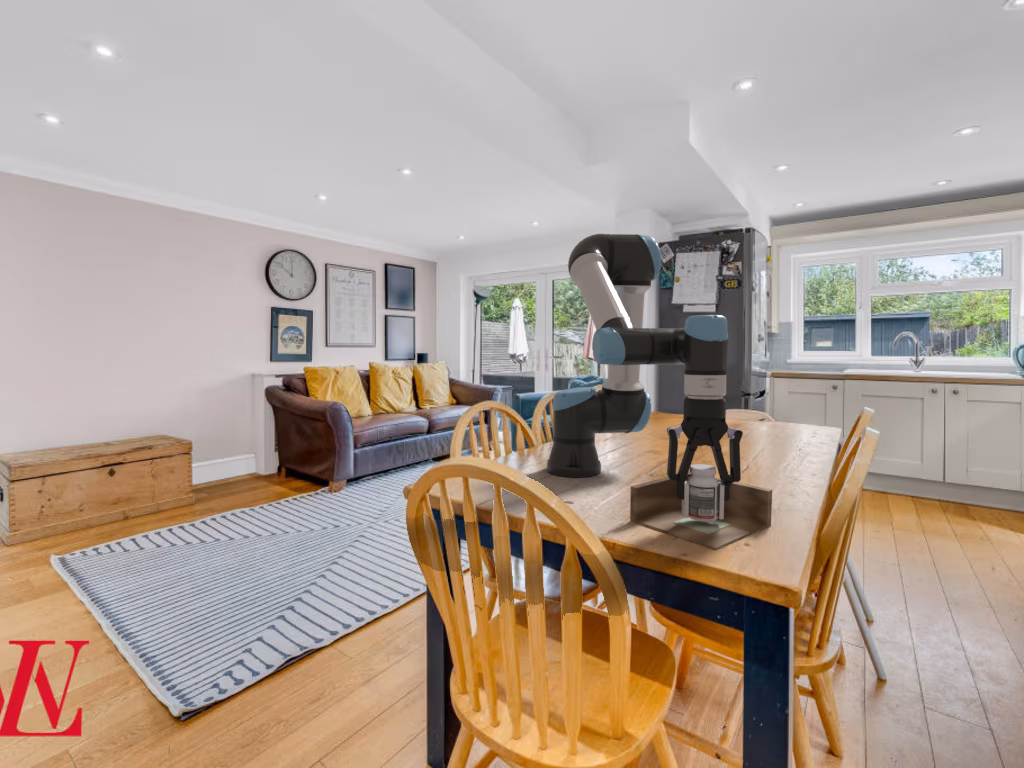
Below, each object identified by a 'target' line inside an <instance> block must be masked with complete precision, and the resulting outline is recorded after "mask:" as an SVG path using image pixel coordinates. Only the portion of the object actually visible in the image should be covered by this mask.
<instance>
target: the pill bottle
mask: <svg viewBox="0 0 1024 768" xmlns="http://www.w3.org/2000/svg"><path fill="white" fill-rule="evenodd" d="M689 472H690V473H691V476H690V477H689V478H688V480H687V483H688V484H689V517H690V518H691V519H694V520H697V521H703V522H710V521H715V520H716V519H717V518H718V500H719V482H718V480H717V479H716V478H717V477H716V474H717V467H715V466H713V465H709V464H701V463H695V464H691V466H690V469H689Z"/></svg>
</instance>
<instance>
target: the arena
mask: <svg viewBox="0 0 1024 768" xmlns="http://www.w3.org/2000/svg"><path fill="white" fill-rule="evenodd" d="M690 476H691V473H690V471H689V472H688V474H687V477H686V480H685V481H687V480H688V478H689V477H690ZM715 478H716V479H717V480H718V482H721V479H720V477H715ZM629 506H630V509H629V510H630V511H629V512H630V514H629V518H630V519H629V521H630V522H633V523H636V524H639V525H641V526H645V527H648V528H650V529H653V530H656V531H659V532H662V533H666V534H667V535H671V536H674V537H677V538H680V539H683V540H685V541H689V542H692V543H695V544H696V545H697V544H698V545H701V546H703V547H706V548H709V549H712V550H719V549H721V548H724V547H726V546H727V545H731V544H734V543H735V542H737V541H739V540H741V539H744V538H746V537H749V536H750V535H752V534H755V533H757V532H759V531H761V530H763V529H764V530H765V529H766V528H768V527H771V526H772V509H773V489H770V488H765V487H760V486H756V485H750V484H747V483H743V482H733V483H732V484H731V486H730V495H729V501H724V519H719V518H717V519H716V520H715V521H710V522H703V521H697V520H694V519H691V518H690V517H688V518H684V516H683V515H682V500H681V499H678V497H677V482H676V481H674V480H670V479H669V477H668V476H666V477H663V478H662V477H661V478H658V479H653V480H651V481H646V482H643V483H639V484H635V485H631V486H630V505H629Z"/></svg>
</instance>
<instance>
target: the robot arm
mask: <svg viewBox="0 0 1024 768" xmlns="http://www.w3.org/2000/svg"><path fill="white" fill-rule="evenodd" d="M567 262H568V264H567V269H568V274H569V277H570V279H571V281H572V282H573V283H574V285H575V286H577V287H579V291H580V293H581V295H582V297H583V299H584V300H583V301H584V303H585V305H586V308H587V310H588V313H589V315H590V317H591V320H592V323H593V324H594V327H595V332H594V334H593V337H592V344H591V349H592V356H593V358H594V361H595V362H596V363H598V364H599V365H608V370H607V371H608V372H607V379H606V380H605V381H604V382H603V383H602V384H601V391H597V390H596V388H595V387H593V386H583V387H581V386H579V387H572V388H566V389H562V390H558V391H557V392H556V393H555V394H554V396H553V400H552V401H553V402H552V418H553V419H552V422H553V423H552V429H553V430H552V434H553V435H552V437H553V438H552V446H551V450H550V454H549V458H548V459H547V461H546V470H547V472H548V473H549V474H552V475H555V476H559V477H568V478H586V477H593V476H596V475H600V474H601V472H602V463H601V460H599V453H598V451H597V447H596V434H621V433H622V434H623V433H624V434H630V433H638V432H641V431H643V430H644V429H645V428H646V426H647V425H648V423H649V422H650V421H649V420H650V417H651V415H652V414H651V412H652V403H651V396H650V394H649V393H648V392H647V391H645V386H644V384H642V383H641V382H640V373H641V365H648V366H649V365H655V366H657V365H663V366H664V365H673V366H674V365H678V366H679V365H684V370H683V371H684V373H683V375H684V376H683V377H684V381H683V382H684V385H683V394H684V395H685V396H686V397H685V398H683V420H682V421H681V423H680V425H678V426H675V427H667V428H666V432H667V435H668V439H669V440H668V442H669V443H668V453H667V454H668V455H667V465H666V466H667V469H666V475H667V476H666V477H669V479H670V480H674V481H676V482H677V497H678V499H681V500H682V515H683V516H684V518H688V517H689V484H688V483H687V481H685V480H686V477H687V474H688V472H690V466H691V465H692V461H693V459H694V457H695V453H696V451H697V450H698V447H702V446H707V447H710V449H711V452H712V455H713V458H714V462H715V465H716V470H717V472H718V475H719V478H720V479H721V482H719V500H718V518H719V519H724V501H729V495H730V486H731V484H732V483H733V482H738V483H740V481H741V479H742V478H741V446H740V443H741V440H742V438H743V434H744V433H743V431H742V430H740V429H738V428H736V427H735V428H733V427H729V425H728V423H727V421H726V420H727V419H726V418H727V417H726V416H727V411H726V410H727V400H726V399H725V396H726V395H727V370H728V347H729V346H728V345H729V344H728V343H729V333H728V319H727V318H726V316H725V315H719V314H700V315H699V314H698V315H689V316H688V317H687V318H686V319H685V323H684V327H677V328H676V327H675V328H674V327H671V328H662V327H657V328H656V327H654V328H652V327H651V328H649V327H645V328H644V327H643V323H644V310H645V308H644V307H645V294H646V292H648V290H649V289H650V288H651V287H652V282H653V281H654V280H657V278H659V275H660V271H661V268H662V254H661V249H660V246H659V244H658V242H657V240H656V239H655V238H654V237H652V236H650V235H644V234H643V235H642V234H638V233H637V234H635V233H634V234H627V233H626V234H623V233H622V234H621V233H620V234H619V233H618V234H616V233H615V234H614V233H613V234H610V233H607V234H606V233H595V234H591V235H589V236H587V237H585V238H583V239H582V240H580V241H579V242H578V243H577V244H575V247H574V248H573V249H572V250H571V252H570V255H569V258H568V261H567ZM682 432H683V434H684V436H685V437H686V438H687V443H686V446H685V447H686V448H685V450H684V452H683V457H682V459H681V461H680V465H679V468H678V471H677V461H678V449H679V448H678V447H679V440H678V439H680V438H681V434H682ZM725 434H727V438H728V439H729V441H728V442H729V445H728V447H729V451H728V452H729V470H728V469H727V465H726V461H725V457H724V454H723V451H722V449H723V448H722V445H721V443H720V442H721V439H722V438H723V437H724V436H725ZM728 471H729V472H728Z"/></svg>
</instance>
